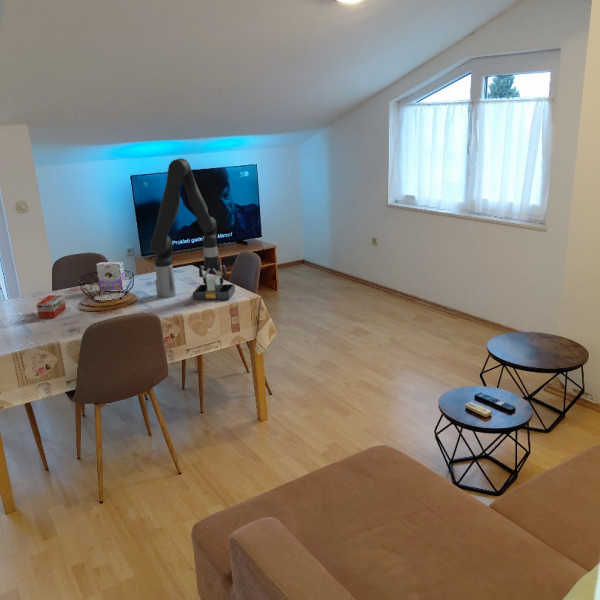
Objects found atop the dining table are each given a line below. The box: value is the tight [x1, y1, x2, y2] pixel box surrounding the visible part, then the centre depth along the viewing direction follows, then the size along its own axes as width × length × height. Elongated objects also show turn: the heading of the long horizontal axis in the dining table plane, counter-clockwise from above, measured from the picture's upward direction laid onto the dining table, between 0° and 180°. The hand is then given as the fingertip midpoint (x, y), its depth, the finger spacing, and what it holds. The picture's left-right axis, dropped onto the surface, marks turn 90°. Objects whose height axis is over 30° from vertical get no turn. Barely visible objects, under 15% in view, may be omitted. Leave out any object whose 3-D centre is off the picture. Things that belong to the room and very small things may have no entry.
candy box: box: [95, 261, 127, 292], centre depth 328 cm, size 14×6×16 cm, turn 84°
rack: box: [192, 283, 236, 301], centre depth 312 cm, size 19×16×4 cm
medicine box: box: [36, 294, 67, 320], centre depth 293 cm, size 15×8×8 cm, turn 0°
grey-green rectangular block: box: [206, 275, 220, 292], centre depth 311 cm, size 4×12×9 cm, turn 174°
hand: (213, 284), depth 311 cm, fingers open, 8 cm apart
